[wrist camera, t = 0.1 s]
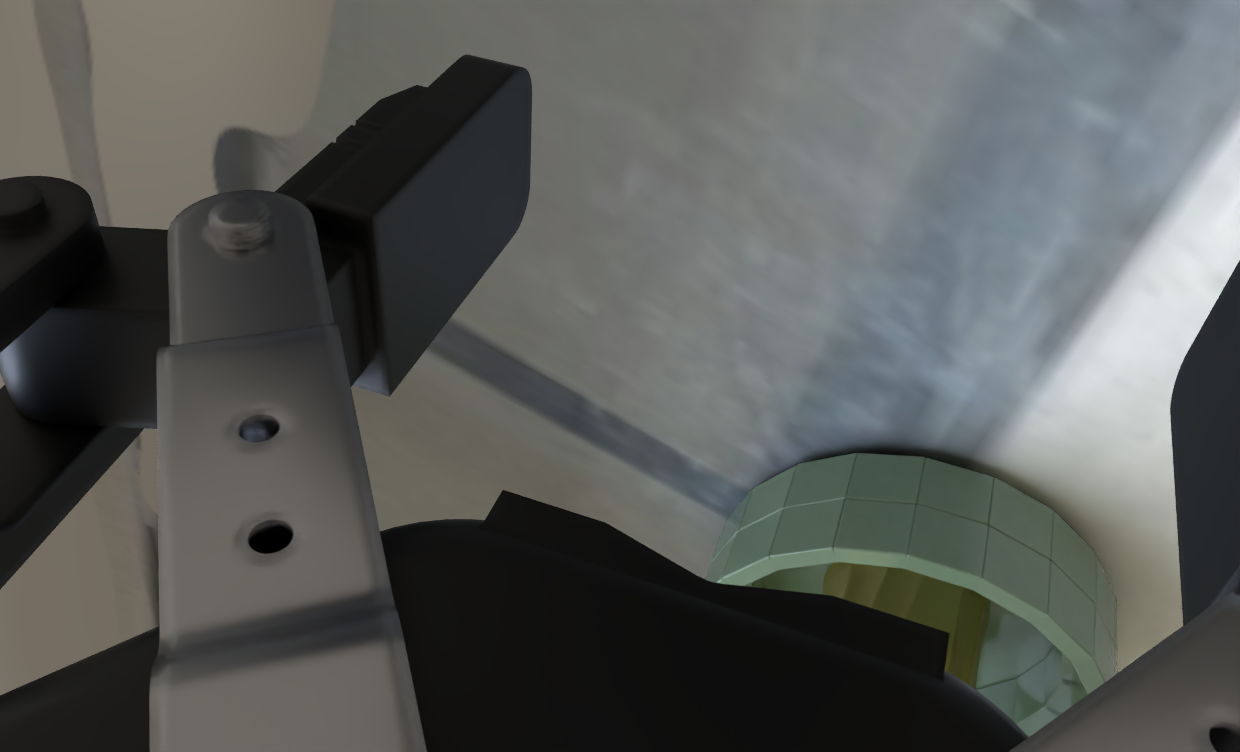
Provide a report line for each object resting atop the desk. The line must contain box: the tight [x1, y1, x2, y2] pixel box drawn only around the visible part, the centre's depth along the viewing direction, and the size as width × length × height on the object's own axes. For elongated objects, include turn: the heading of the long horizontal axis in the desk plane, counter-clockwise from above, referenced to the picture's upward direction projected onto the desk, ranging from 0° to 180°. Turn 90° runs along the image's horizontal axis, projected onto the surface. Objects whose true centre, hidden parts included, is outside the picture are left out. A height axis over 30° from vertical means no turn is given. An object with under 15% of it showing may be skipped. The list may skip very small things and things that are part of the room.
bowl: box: [705, 453, 1117, 737], centre depth 39 cm, size 14×14×5 cm
